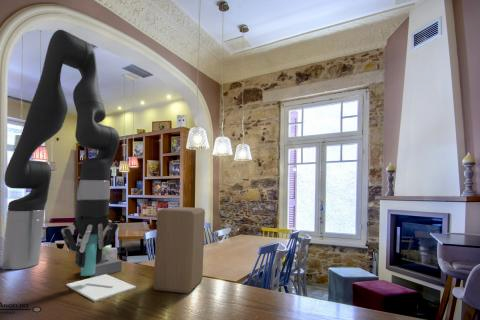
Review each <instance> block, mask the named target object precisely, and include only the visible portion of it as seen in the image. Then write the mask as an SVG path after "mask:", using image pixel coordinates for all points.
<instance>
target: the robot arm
mask: <svg viewBox="0 0 480 320" xmlns="http://www.w3.org/2000/svg"><path fill="white" fill-rule="evenodd" d="M63 65H65V66H67V67H70V68H71V69H74V70H75V69H76V70H78V71H79V73H80V75H81V78H80V80H79V81H78V82H77V84H76V86H75V87H74V88H73V91H72V92H73V93H72V100H73V104H74V107H75V110H76V111H75V112H76V127H75V132H74V133H75V135H74V136H75V141H76V142H77V143H78V144H79V145H80V146H81V147H82V148H84V149H90V150H97V151H98V152H97V154H96V155H95V157H89V158H88V157H87V158H84V159H83V160H82V161H81V164H80V174H79V175H80V176H79V184H78V187H77V194H76V206H75V220H73V223H72V224H71V225H69V226H67V227H62V228H61V229H60V233H61V236H62V238H63V240H64V243H65V245H66V248H67V250H68V251H71V252H75V262H74V263H75V265H76V266H77V267H78V268H80V269H81V268H83V267H84V263H85V252H84V251H85V247H86V244H87V242H88V240H89V236H90V235H91V234H98V242H97V255H96V264H99V262H100V261H101V259H102V249H103V248H104V247H105V246H108V245H111V243H112V241H113V238H114V236H115V234H116V232H117V229H118V227H119V224H118V223H114V222H110V220H109V218H108V217H109V213H110V212H109V209H110V197H111V184H110V183H111V169H112V168H111V167H112V164H113V161H114V159H115V157H116V153H117V151H118V149H119V148H118V147H119V145H120V135H119V132H118V130H117V129H115V127H112V126H109V125H104V124H101V122H103V121H104V120H105V118H106V115H107V114H106V109H105V106H104V103H103V100H102V95H101V92H100V87H99V81H98V79H99V78H98V77H99V76H98V67H97V58H96V51H95V49H94V47H93V46H92V44H90V43H89V42H87V41H86V40H84V39H82V38H80V37H78V36H76V35H74V34H72V33H71V32H69V31H66V30H64V29H57V30H56V31H55V32H53V33H52V36H51V37H50V40H49V41H48V46H47V49H46V54H45V58H44V63H43V66H42V71H41V75H40V79H39V81H38V84H37V88H36V90H35V92H34V95H33V98H32V100H31V103H30V105H29V108H28V112H27V115H26V118H25V120H24V125H23V128H22V131H21V134H20V137H19V140H18V142H17V144H16V146H15V148H14V151H13V153H12V155H11V157H10V160H9V162H8V164H7V166H6V169H5V173H4V183H5V185H6V187H8V188H9V189H22V190H26V189H27V190H28V189H29V190H30V192H29V193H28V194H27V195H25V196H23V197H19V198H17V199H13V200H11V201H9V202H8V204H7V205H8V206H7V214H6V222H5V230H4V239H3V246H2V253H1V261H0V269H1V268H3V269H2V270H5V269H12V270H21V269H26V268H32V267H34V266H37V265H38V264H40V259H41V258H40V257H41V247H42V239H43V230H44V229H43V228H44V220H45V210H46V209H45V208H46V205H47V201H48V195H49V190H50V189H49V188H50V184H51V179H52V178H51V177H52V168H51V166H50V164H49V163H48V162H46V161H39V160H30V159H31V158H32V156H33V155H34V153H35V152H36V151H37V149H38V148H40V146H42V145H43V144H44V143H46V142H47V141H49V140H50V139H51V138H53V137H54V136H56V134H57V133H59V132H60V131H61V129H62V128H63V125H64V123H65V120H66V118H67V114H68V108H69V107H68V103H67V102H68V101H67V99H66V95H65V93H64V90H63V86H62V82H61V77H62V75H61V74H62V70H63V69H62V68H63ZM105 230H106V232H105V234H104V231H105ZM75 231H76V232H77V234H78V235H77V238H76V242H75V238H74V234H75Z"/></svg>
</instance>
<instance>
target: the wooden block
mask: <svg viewBox="0 0 480 320" xmlns="http://www.w3.org/2000/svg"><path fill="white" fill-rule="evenodd" d="M205 211H206V210H205V208H203V207H188V206H187V207H185V206H173V207H166V208H160V209H158V211H157V218H156V231H155V232H156V235H155V250H154V251H155V253H154V269H153V284H152V285H153V286H152V288H153V290H155V291H163V292H172V293H173V292H174V293H181V294H190V293H191V292H192V291H193V290H194V289H195V288H196V287H197V286H198V285H199V284H200V283H201V282H202V280H203V273H204V272H203V269H204V249H205V248H204V246H205V245H204V244H205V222H206V221H205V220H206V219H205V216H206V212H205Z"/></svg>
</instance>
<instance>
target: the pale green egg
mask: <svg viewBox="0 0 480 320" xmlns="http://www.w3.org/2000/svg"><path fill="white" fill-rule="evenodd" d="M111 254H112V244H110V245H108V246H105V247H104V248H103V249H102V259H101V261H100V262H99V263H102V262H105V261H106V257H107V256H110V255H111Z"/></svg>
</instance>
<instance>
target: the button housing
mask: <svg viewBox="0 0 480 320" xmlns="http://www.w3.org/2000/svg"><path fill="white" fill-rule="evenodd" d="M122 266H123V260H121V259H117V258H115V257H113V256H112V257H111V256H110V255H106V261H105V262H102V263H99V264H96V268H95V274H93V275H89V277H90V278H92V277H96V276H100V275H104V274H107V275H110V274H115V273H119V272H122Z"/></svg>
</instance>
